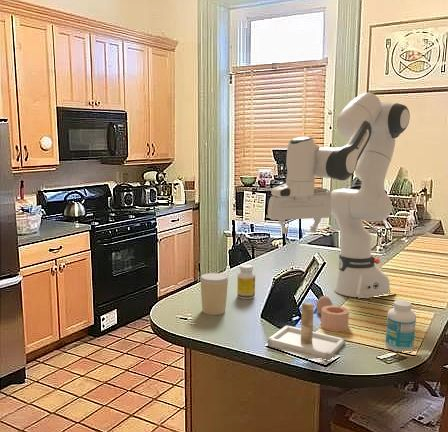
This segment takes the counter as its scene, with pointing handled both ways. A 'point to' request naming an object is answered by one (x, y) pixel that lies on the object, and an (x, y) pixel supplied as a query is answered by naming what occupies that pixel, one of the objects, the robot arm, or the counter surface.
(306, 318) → the dowel
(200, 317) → the counter surface
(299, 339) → the tray
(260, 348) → the counter surface
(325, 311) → the cup
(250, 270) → the pill bottle
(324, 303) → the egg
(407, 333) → the pill bottle
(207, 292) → the coffee cup
